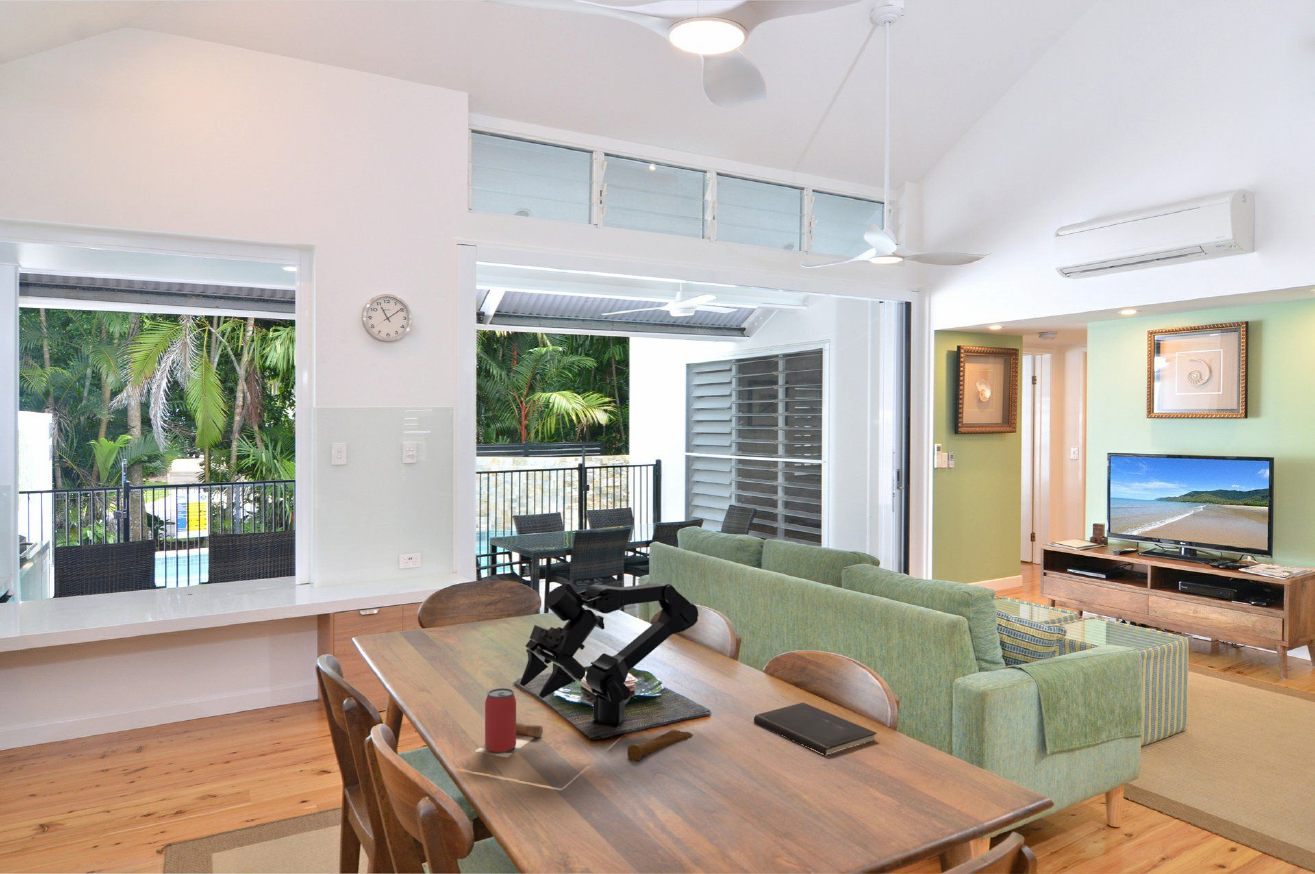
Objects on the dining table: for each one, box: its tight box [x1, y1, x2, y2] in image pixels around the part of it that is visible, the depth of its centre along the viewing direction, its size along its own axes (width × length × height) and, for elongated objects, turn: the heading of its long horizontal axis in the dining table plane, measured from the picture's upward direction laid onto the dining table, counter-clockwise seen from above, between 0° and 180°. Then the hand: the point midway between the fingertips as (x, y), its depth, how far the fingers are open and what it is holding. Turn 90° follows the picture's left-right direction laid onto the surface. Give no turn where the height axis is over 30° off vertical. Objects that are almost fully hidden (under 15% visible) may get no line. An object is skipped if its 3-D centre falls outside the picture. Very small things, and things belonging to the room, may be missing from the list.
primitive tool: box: [626, 729, 693, 762], centre depth 178 cm, size 19×6×4 cm, turn 146°
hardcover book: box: [753, 702, 877, 755], centre depth 187 cm, size 16×23×2 cm
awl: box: [516, 721, 544, 738], centre depth 184 cm, size 12×2×2 cm, turn 68°
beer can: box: [484, 687, 517, 753], centre depth 175 cm, size 7×7×12 cm
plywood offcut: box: [474, 734, 536, 758], centre depth 179 cm, size 8×15×1 cm, turn 158°
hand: (530, 690), depth 179 cm, fingers open, 9 cm apart
